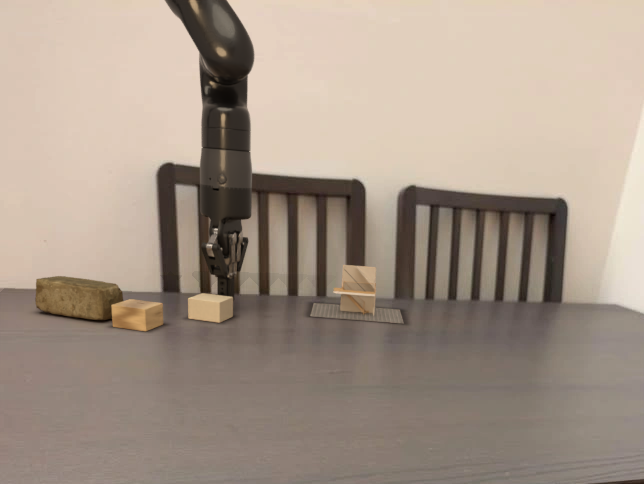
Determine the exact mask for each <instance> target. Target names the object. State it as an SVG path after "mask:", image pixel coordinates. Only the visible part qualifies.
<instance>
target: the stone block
mask: <svg viewBox="0 0 644 484" xmlns="http://www.w3.org/2000/svg"><path fill="white" fill-rule="evenodd" d="M35 281H36V282H35V298H34V300H35V306H36V309H38V310H40V311H42V312H44V313H50V314H52V315H60V316H65V317H73V318H76V319H77V318H81V319H85V320H92V321H93V320H94V321H107V320H112V307H111V305H113V304H116V303H119V302H122V301H124V295H123V290H122V289H121V288H120V287H119V285H118V284H116V283H113V282H105V281H101V280H95V279H89V278H80V277H72V276H66V275H65V276H64V275H55V276H49V277H41V278H36V280H35Z"/></svg>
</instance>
